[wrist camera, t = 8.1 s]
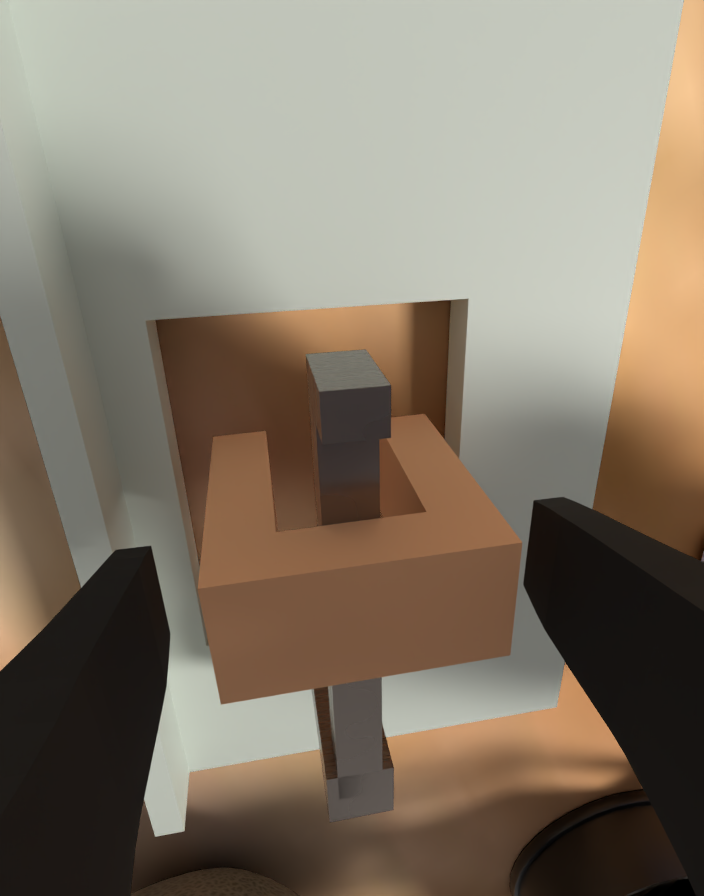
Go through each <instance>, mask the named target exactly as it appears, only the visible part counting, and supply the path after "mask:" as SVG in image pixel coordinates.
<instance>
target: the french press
mask: <svg viewBox="0 0 704 896" xmlns="http://www.w3.org/2000/svg"><path fill="white" fill-rule="evenodd" d="M510 891H511V894H512V896H696V894H695V892H694V890H693V888H692V886H691V883H690V881H689V879H688V877H687V875H686V873H685V870H684V868H683V866H682V864H681V862H680V860H679V858H678V856H677V854H676V852H675V850H674V848H673V846H672V844H671V842H670V840H669V838H668V836H667V834H666V832H665V830H664V828H663V826H662V824H661V822H660V820H659V818H658V816H657V814H656V812H655V810H654V808H653V806H652V804H651V803H650V801H649V799H648V797H647V795H646V793H645V791H644V790H640V791H631V792H625V793H620V794H616V795H612V796H608V797H605V798H602V799H599V800H597V801H594V802H591V803H588V804H586V805H584V806H582V807H580V808H578V809H576V810H574V811H572V812H570V813H568V814H566V815H565V816H563V817H561V818H560V819H558V820H557V821H555V822H554V823H552V824H551V825H549V826H548V827H547V828H546V829H544V830H543V831H542V832H541V833H539V834H538V835H537V836H536V837H535V838H534V839H533V840H532V841H531V842H530V843H529V844H528V845H527V846H526V847H525V849H524V850H523V851H522V853H521V854H520V856H519V857H518V859H517V860H516V862H515V864H514V867H513V869H512V872H511V876H510Z"/></svg>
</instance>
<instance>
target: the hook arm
mask: <svg viewBox="0 0 704 896" xmlns="http://www.w3.org/2000/svg"><path fill="white" fill-rule="evenodd" d="M306 365H307V380H308V395H309V410H310V425H311V440H312V455H313V470H314V485H315V500H316V515H317V526H324V525H332V524H340V523H347V522H355V521H362V520H370V519H377V518H380V451H379V439H385V438H391V385H390V383H389V382H388V380H387V379H386V378H385V376H384V375H383V373H382V372H381V370H380V369H379V368H378V366H377V365H376V363H375V362H374V360H373V359H372V358H371V356H370V355H369V353H368V352H367V350H353V351H341V352H328V353H315V354H306ZM311 690H312V697H313V704H314V712H315V719H316V726H317V734H318V741H319V748H320V756H321V763H322V770H323V777H324V785H325V792H326V799H327V807H328V814H329V821H330V822H334V821H340V820H345V819H350V818H355V817H360V816H365V815H370V814H375V813H380V812H386V811H391V810H393V799H394V767H393V763H392V760H391V756H390V752H389V748H388V744H387V740H386V736H385V732H384V728H383V724H382V677H380V678H374V679H368V680H363V681H357V682H351V683H345V684H339V685H333V686H327V687H322V688H316V689H311Z"/></svg>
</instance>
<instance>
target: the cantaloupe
mask: <svg viewBox="0 0 704 896" xmlns="http://www.w3.org/2000/svg"><path fill="white" fill-rule="evenodd" d="M130 896H299V895H298V894H296V893H295V892H293V891H292V890H290V889H289V888H287V887H286V886H284V885H282V884H280V883H278V882H276V881H274V880H273V879H270V878H268V877H265V876H263V875H260V874H257V873H254V872H251V871H247V870H242V869H237V868H210V869H204V870H198V871H194V872H190V873H185V874H182V875H179V876H176V877H172V878H169V879H166V880H163V881H160V882H158V883H155V884H152V885H150V886H147V887H145V888H143V889H141V890H139V891H136V892H134V893H132V894H130Z"/></svg>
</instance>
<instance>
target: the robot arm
mask: <svg viewBox="0 0 704 896" xmlns="http://www.w3.org/2000/svg"><path fill="white" fill-rule="evenodd" d="M523 585H524V588H525V590H526V592H527V594H528V596H529V599H530V601H531V603H532V605H533V607H534V610H535V612H536V614H537V616H538V618H539V620H540V622H541V624H542V626H543V628H544V630H545V631H546V633H547V634H548V636H549V638H550V639H551V641H552V642H553V644H554V645H555V647H556V648H557V650H558V652H559V653H560V655H561V656H562V658H563V659H564V661H565V662H566V664H567V665H568V667H569V668H570V670H571V671H572V673H573V675H574V676H575V678H576V679H577V681H578V682H579V684H580V685H581V687H582V688H583V690H584V691H585V693H586V694H587V696H588V697H589V699H590V700H591V702H592V703H593V705H594V706H595V708H596V709H597V711H598V712H599V714H600V715H601V717H602V718H603V720H604V721H605V723H606V724H607V726H608V727H609V729H610V730H611V732H612V734H613V735H614V737H615V739H616V740H617V742H618V744H619V745H620V747H621V749H622V750H623V752H624V754H625V755H626V757H627V759H628V761H629V763H630V765H631V767H632V769H633V770H634V772H635V774H636V776H637V778H638V780H639V782H640V784H641V786H642V787H643V789H644V791H645V793H646V795H647V797H648V799H649V801H650V803H651V804H652V806H653V808H654V810H655V812H656V814H657V816H658V818H659V820H660V822H661V824H662V826H663V828H664V830H665V832H666V834H667V836H668V838H669V840H670V842H671V844H672V846H673V848H674V850H675V852H676V854H677V856H678V858H679V860H680V862H681V864H682V866H683V868H684V870H685V873H686V875H687V877H688V879H689V881H690V883H691V886H692V888H693V890H694V892H695V894H696V896H704V552H703V555H702V559H701V561H700V560H697V559H695V558H693V557H691V556H688V555H686V554H684V553H682V552H680V551H678V550H675V549H673V548H671V547H669V546H667V545H665V544H663V543H661V542H658V541H656V540H654V539H652V538H650V537H648V536H646V535H644V534H642V533H640V532H638V531H636V530H634V529H632V528H630V527H628V526H626V525H624V524H622V523H620V522H617V521H615V520H613V519H611V518H609V517H607V516H605V515H603V514H601V513H599V512H597V511H595V510H593V509H591V508H589V507H586V506H584V505H582V504H580V503H577V502H575V501H573V500H570V499H568V498H565V497H557V498H548V499H540V500H534V501H533V509H532V517H531V525H530V533H529V541H528V549H527V557H526V565H525V573H524V581H523ZM170 635H171V633H170V629H169V624H168V620H167V615H166V611H165V606H164V602H163V597H162V592H161V588H160V583H159V579H158V574H157V570H156V565H155V561H154V556H153V552H152V547H151V546H143V547H135V548H127V549H118V550H115V551H114V552H113V553H112V554H111V555H110V556H109V557H108V559H107V560H106V561H105V562H104V563H103V564H102V565H101V566H100V567H99V568H98V570H97V571H96V572H95V573H94V574H93V575H92V576H91V577H90V579H89V580H88V581H87V582H86V583H85V584H84V585H83V586H82V588H81V589H80V590H79V591H78V592H77V593H76V594H75V595H74V596H73V598H72V599H71V600H70V601H69V602H68V603H67V604H66V605H65V606H64V607H63V608H62V610H61V611H60V612H59V613H58V614H57V615H56V616H55V617H54V618H53V619H52V620H51V621H50V622H49V624H48V625H47V626H46V627H45V628H44V629H43V630H42V631H41V632H40V633H39V634H38V635H37V636H36V637H35V638H34V639H33V640H32V641H31V642H30V643H29V644H28V645H27V646H26V647H25V648H24V649H23V650H22V651H21V652H20V653H19V654H18V655H17V656H15V657H14V658H13V659H12V660H11V661H10V662H9V663H8V664H7V665H6V666H5V667H4V668H3V669H2V670H1V671H0V896H130V893H131V884H132V874H133V865H134V856H135V847H136V841H137V834H138V828H139V822H140V816H141V811H142V806H143V801H144V796H145V791H146V787H147V782H148V777H149V772H150V767H151V762H152V757H153V752H154V748H155V743H156V738H157V733H158V728H159V723H160V718H161V713H162V708H163V703H164V698H165V692H166V687H167V676H168V664H169V650H170Z"/></svg>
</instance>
